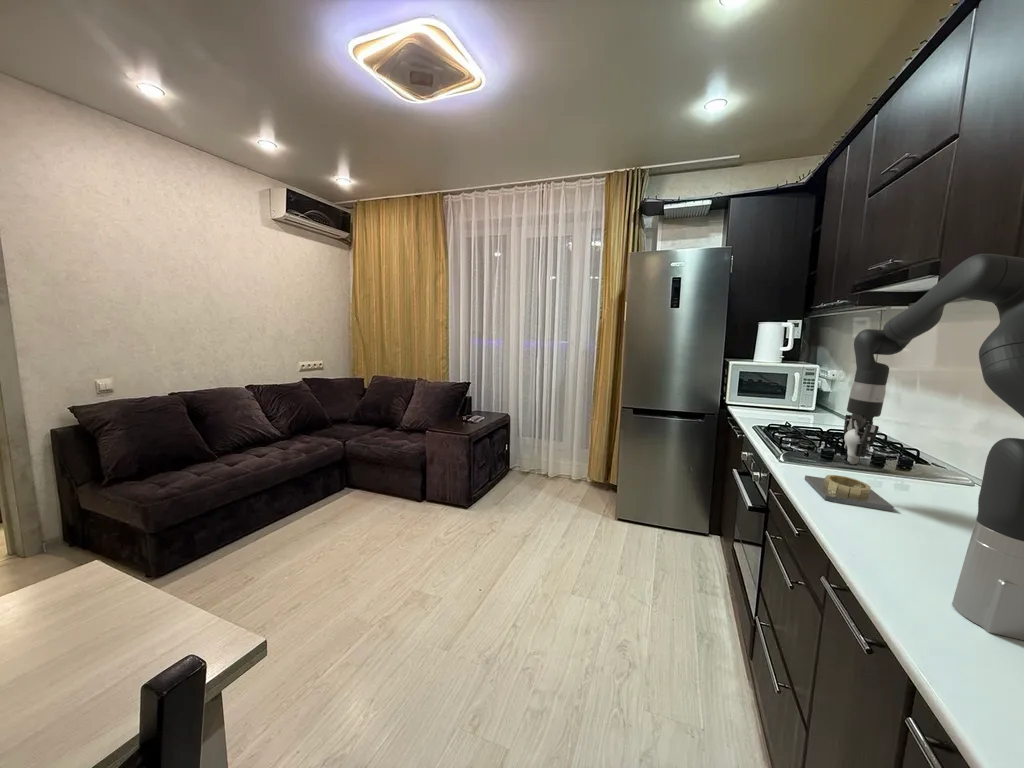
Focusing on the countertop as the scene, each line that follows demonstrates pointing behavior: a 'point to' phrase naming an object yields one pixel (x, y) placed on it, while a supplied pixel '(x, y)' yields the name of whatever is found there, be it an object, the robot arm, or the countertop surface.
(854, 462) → the lightbulb
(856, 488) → the lamp socket
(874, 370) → the robot arm
